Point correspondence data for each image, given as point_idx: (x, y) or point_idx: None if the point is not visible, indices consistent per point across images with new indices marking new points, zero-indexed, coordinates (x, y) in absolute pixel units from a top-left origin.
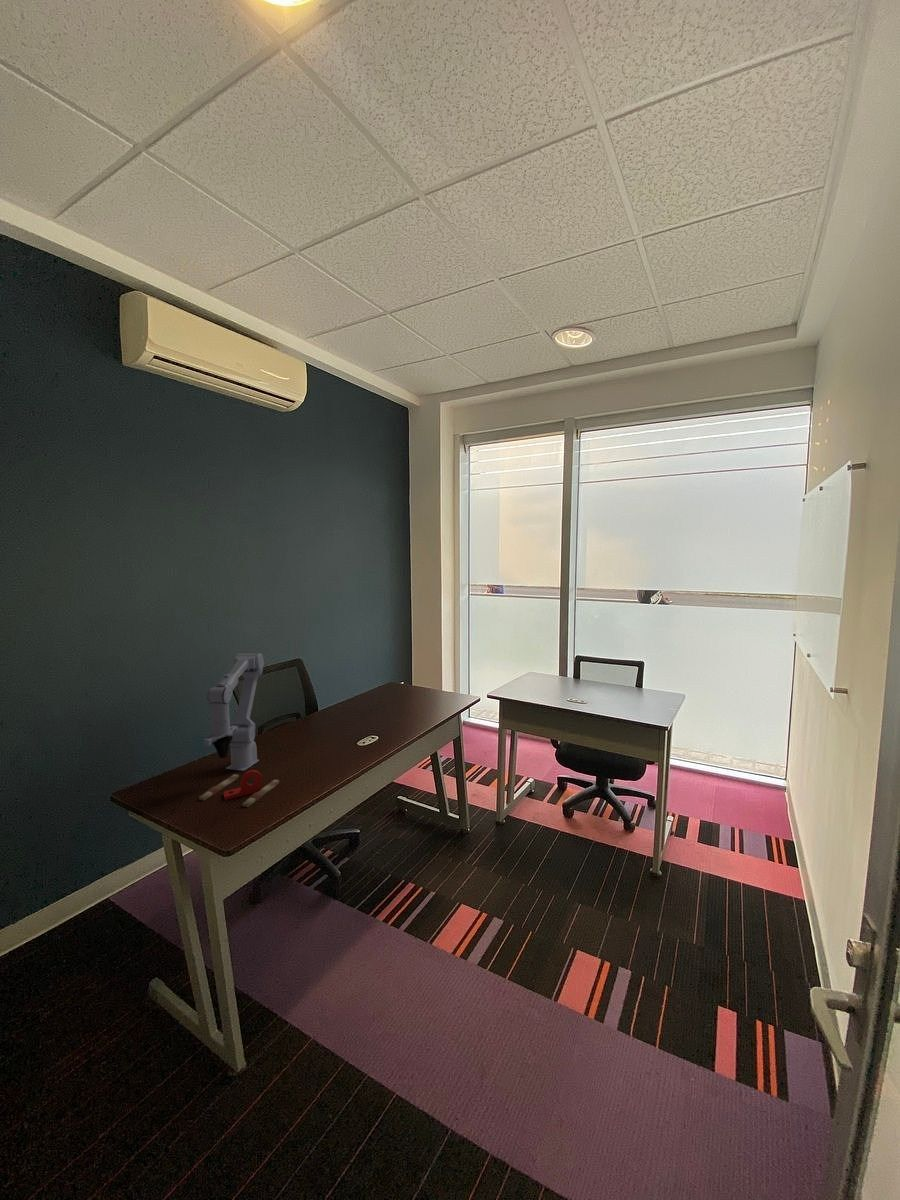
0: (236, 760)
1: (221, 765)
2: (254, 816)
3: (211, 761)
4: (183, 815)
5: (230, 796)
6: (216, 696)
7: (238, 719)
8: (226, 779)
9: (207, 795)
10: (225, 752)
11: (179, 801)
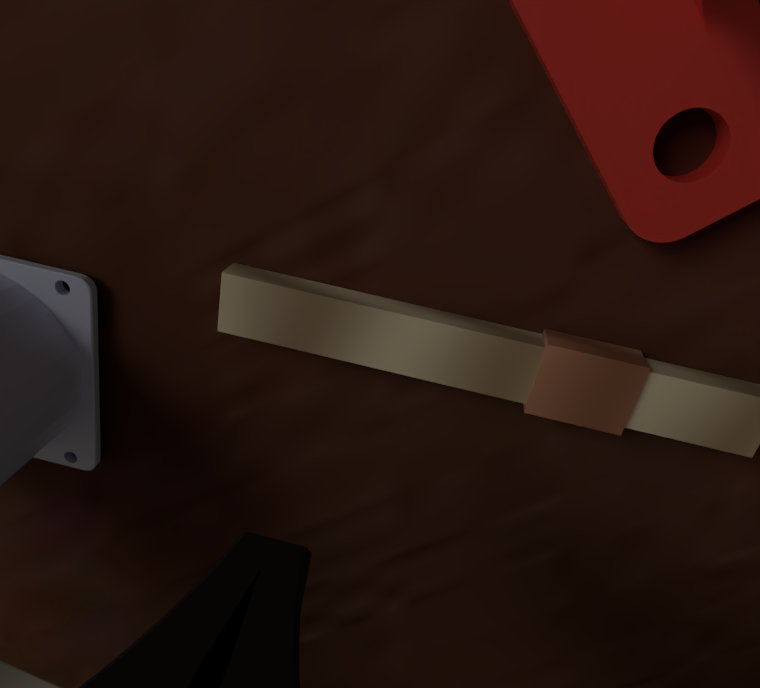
0: (18, 412)
1: (50, 525)
2: None
3: (16, 617)
4: None
5: None
6: None
7: None
8: (346, 355)
9: (727, 389)
10: (259, 613)
11: (740, 582)
